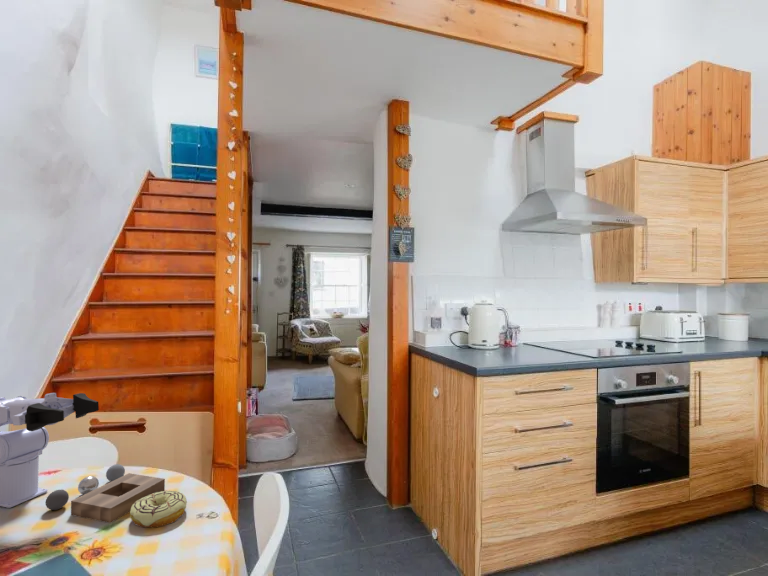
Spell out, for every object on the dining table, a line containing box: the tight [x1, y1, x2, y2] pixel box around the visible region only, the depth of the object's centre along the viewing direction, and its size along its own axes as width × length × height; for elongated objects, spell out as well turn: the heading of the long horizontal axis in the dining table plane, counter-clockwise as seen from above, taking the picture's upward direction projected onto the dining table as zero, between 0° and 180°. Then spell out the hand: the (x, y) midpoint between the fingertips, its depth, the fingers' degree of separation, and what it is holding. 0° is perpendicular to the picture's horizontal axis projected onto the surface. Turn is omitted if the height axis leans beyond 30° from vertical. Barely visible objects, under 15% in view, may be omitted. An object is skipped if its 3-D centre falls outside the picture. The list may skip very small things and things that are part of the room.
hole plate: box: [70, 472, 166, 524], centre depth 91 cm, size 11×14×3 cm
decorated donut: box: [129, 490, 188, 529], centre depth 86 cm, size 10×11×4 cm
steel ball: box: [77, 475, 100, 495], centre depth 95 cm, size 4×4×4 cm
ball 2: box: [105, 463, 126, 482], centre depth 102 cm, size 4×4×4 cm
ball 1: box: [44, 489, 70, 511], centre depth 88 cm, size 4×4×4 cm
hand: (80, 410), depth 88 cm, fingers open, 7 cm apart
